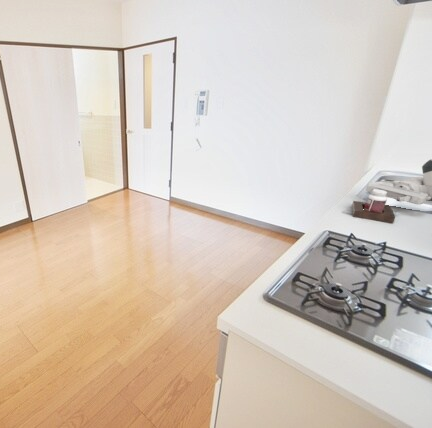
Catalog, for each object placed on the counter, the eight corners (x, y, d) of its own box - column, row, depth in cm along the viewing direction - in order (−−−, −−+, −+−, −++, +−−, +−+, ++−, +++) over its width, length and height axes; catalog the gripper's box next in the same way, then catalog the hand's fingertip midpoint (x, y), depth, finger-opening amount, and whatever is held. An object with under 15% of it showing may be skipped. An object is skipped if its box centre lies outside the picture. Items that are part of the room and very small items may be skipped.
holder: (388, 212, 126) (390, 206, 124) (392, 223, 116) (395, 216, 115) (351, 206, 133) (353, 200, 131) (352, 216, 123) (354, 210, 122)
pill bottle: (383, 215, 123) (392, 191, 118) (376, 218, 121) (385, 194, 116) (366, 210, 128) (375, 187, 124) (359, 213, 126) (367, 190, 121)
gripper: (430, 204, 121) (413, 211, 116) (374, 190, 138) (357, 195, 133) (437, 190, 118) (419, 197, 113) (379, 178, 135) (361, 183, 131)
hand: (385, 196), depth 123 cm, fingers open, 8 cm apart
